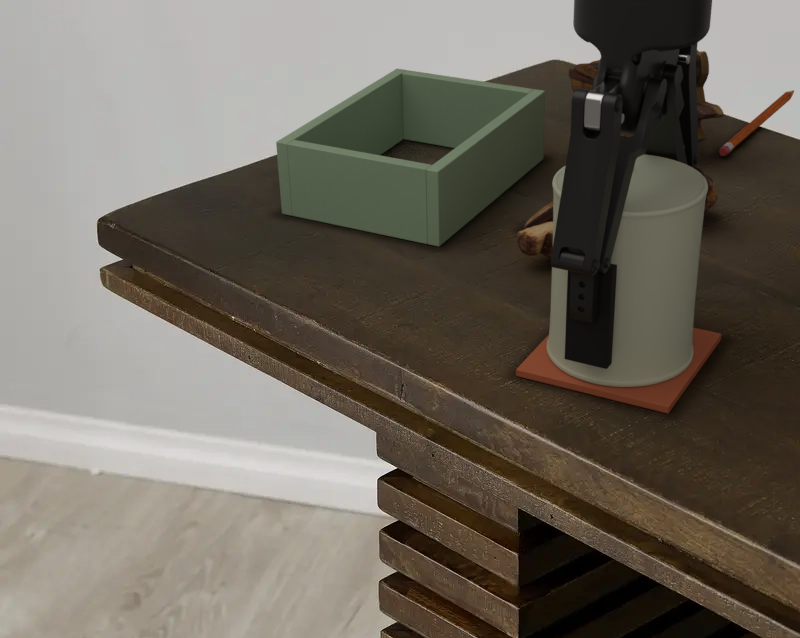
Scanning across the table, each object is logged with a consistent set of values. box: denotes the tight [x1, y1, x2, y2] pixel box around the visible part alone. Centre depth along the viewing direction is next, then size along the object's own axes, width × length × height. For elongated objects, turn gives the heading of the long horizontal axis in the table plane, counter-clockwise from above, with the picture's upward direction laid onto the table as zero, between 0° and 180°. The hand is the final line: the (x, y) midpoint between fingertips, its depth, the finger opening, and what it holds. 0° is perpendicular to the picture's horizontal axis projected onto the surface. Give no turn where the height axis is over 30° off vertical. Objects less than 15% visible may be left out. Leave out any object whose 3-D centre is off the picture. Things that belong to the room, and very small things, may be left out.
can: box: [547, 155, 708, 387], centre depth 85 cm, size 9×9×12 cm
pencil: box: [718, 90, 795, 157], centre depth 122 cm, size 1×18×1 cm, turn 147°
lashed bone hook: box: [516, 165, 719, 258], centre depth 103 cm, size 9×5×18 cm
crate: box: [275, 68, 546, 247], centre depth 111 cm, size 14×19×6 cm
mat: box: [515, 327, 723, 414], centre depth 88 cm, size 10×10×1 cm
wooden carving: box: [568, 49, 725, 147], centre depth 117 cm, size 16×5×10 cm, turn 40°
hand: (623, 320), depth 87 cm, fingers open, 11 cm apart
